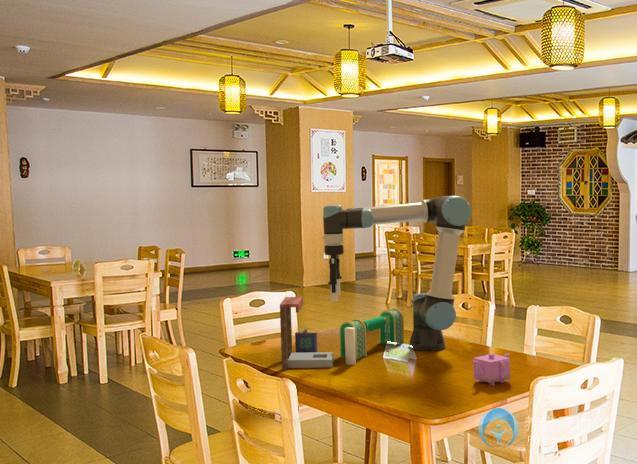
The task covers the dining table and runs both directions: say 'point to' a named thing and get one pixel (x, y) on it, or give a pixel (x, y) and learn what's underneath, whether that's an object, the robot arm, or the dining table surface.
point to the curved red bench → (287, 326)
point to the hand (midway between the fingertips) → (335, 298)
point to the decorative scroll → (386, 323)
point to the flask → (306, 341)
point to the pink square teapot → (492, 368)
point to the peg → (350, 346)
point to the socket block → (311, 360)
